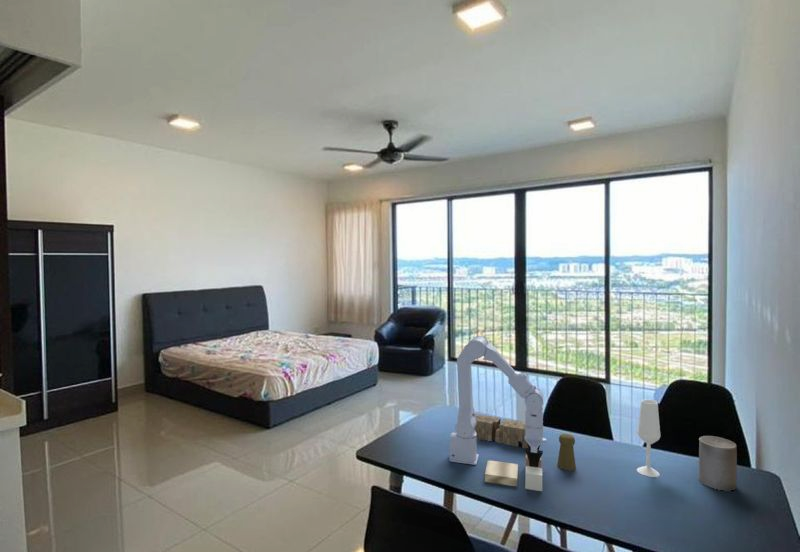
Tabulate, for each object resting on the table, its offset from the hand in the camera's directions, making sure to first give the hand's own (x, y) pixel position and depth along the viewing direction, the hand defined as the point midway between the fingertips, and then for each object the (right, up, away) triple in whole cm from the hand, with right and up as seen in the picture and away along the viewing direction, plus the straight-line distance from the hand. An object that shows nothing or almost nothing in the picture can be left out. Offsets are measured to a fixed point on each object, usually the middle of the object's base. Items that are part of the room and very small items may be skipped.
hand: (533, 464), depth 144 cm
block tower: (-6, -2, +25) cm, 26 cm away
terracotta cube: (0, -2, 0) cm, 2 cm away
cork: (+12, -2, +3) cm, 13 cm away
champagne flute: (+38, -2, -1) cm, 38 cm away
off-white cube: (-3, -2, -10) cm, 11 cm away
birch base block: (-12, -2, -5) cm, 13 cm away
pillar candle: (+56, -2, -9) cm, 57 cm away
